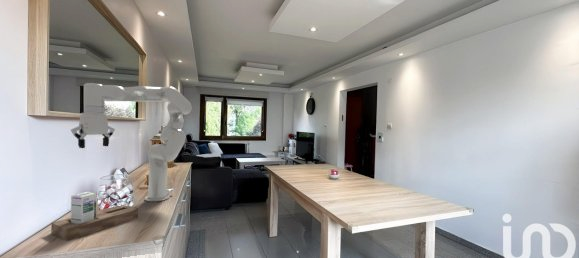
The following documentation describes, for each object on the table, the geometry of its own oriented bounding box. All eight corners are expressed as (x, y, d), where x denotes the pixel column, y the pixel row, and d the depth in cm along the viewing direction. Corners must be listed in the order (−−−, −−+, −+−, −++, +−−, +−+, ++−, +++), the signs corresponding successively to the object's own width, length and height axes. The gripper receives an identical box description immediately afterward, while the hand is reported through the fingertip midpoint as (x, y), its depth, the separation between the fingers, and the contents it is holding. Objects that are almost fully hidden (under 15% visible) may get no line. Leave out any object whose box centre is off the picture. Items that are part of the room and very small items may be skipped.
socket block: (51, 233, 93) (51, 223, 93) (122, 212, 116) (122, 204, 116) (67, 240, 88) (67, 229, 88) (137, 217, 111) (138, 208, 111)
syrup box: (81, 233, 94) (82, 196, 94) (69, 231, 95) (71, 194, 95) (96, 227, 99) (97, 192, 99) (85, 225, 101) (86, 191, 101)
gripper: (109, 111, 121) (109, 145, 121) (66, 109, 105) (66, 148, 105) (118, 111, 118) (118, 146, 118) (76, 109, 102) (76, 149, 103)
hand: (94, 147), depth 112 cm, fingers open, 9 cm apart
